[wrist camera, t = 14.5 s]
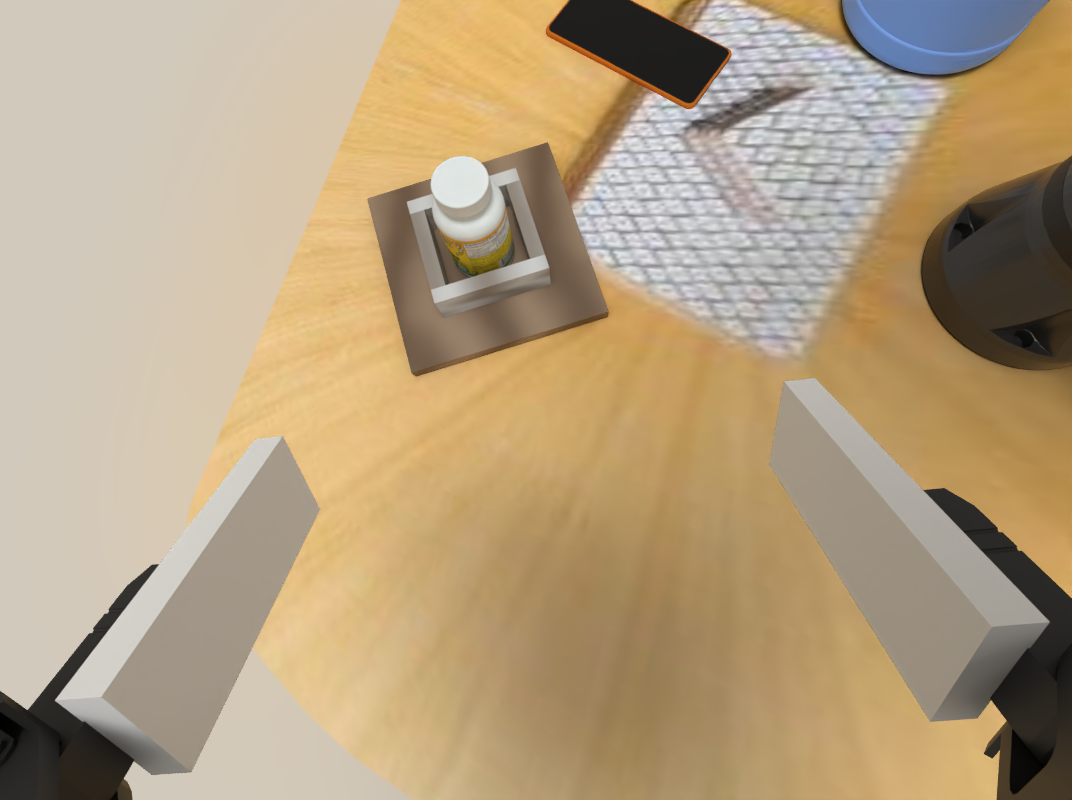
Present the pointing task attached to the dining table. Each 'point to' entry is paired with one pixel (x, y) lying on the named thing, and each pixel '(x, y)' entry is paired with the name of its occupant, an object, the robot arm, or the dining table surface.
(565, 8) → the smartphone
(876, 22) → the water jug
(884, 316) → the dining table surface
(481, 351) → the square framed base tray
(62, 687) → the robot arm
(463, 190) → the supplement bottle
